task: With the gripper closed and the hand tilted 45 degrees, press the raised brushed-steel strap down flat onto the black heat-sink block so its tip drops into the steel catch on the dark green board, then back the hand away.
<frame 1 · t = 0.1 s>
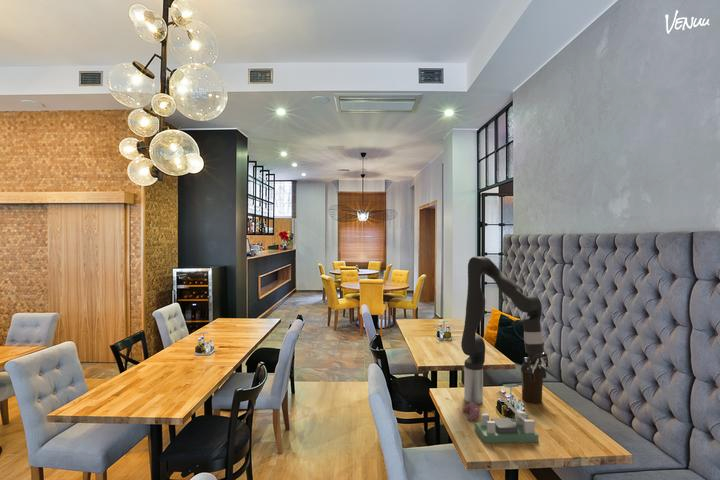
hand: (538, 379, 160), 22 cm above the table, tool pointing down, fingers open, 8 cm apart
pink rounded lump: (471, 416, 174), on the table
clip base: (501, 435, 156), on the table
olive oil: (531, 400, 192), on the table
retention strap: (513, 408, 157), point 12 cm above the table, hinge at 45.0°
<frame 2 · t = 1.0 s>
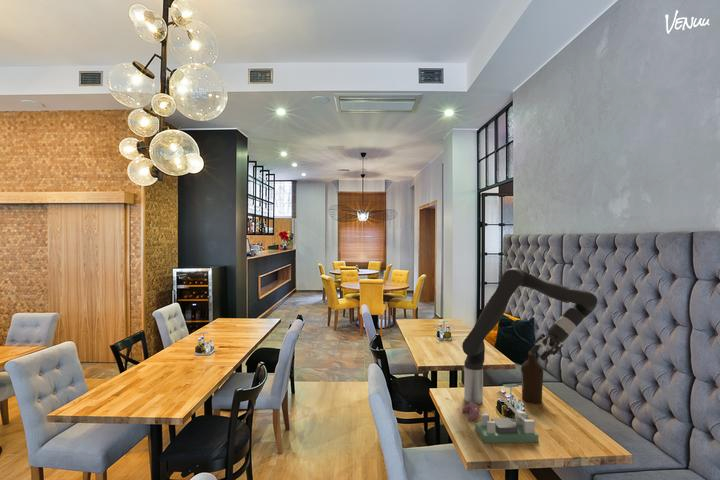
hand: (536, 356, 160), 33 cm above the table, tool tilted 45°, fingers open, 8 cm apart
nothing on the table moved.
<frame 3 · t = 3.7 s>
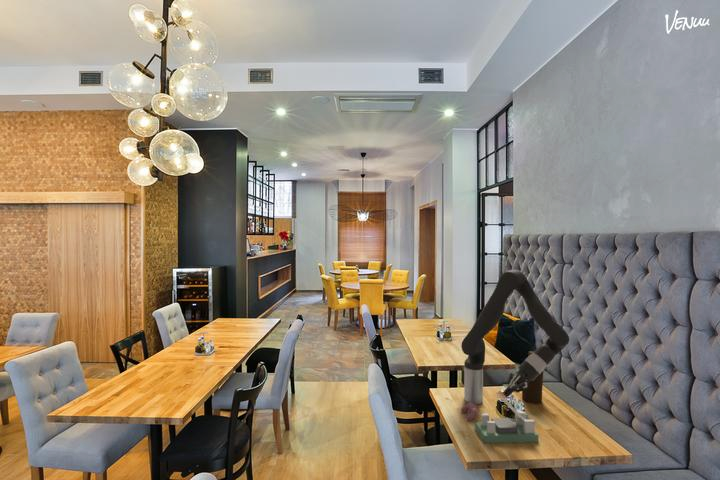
hand: (504, 395, 157), 17 cm above the table, tool tilted 45°, fingers closed
retention strap: (513, 408, 157), point 12 cm above the table, hinge at 45.0°, touching gripper
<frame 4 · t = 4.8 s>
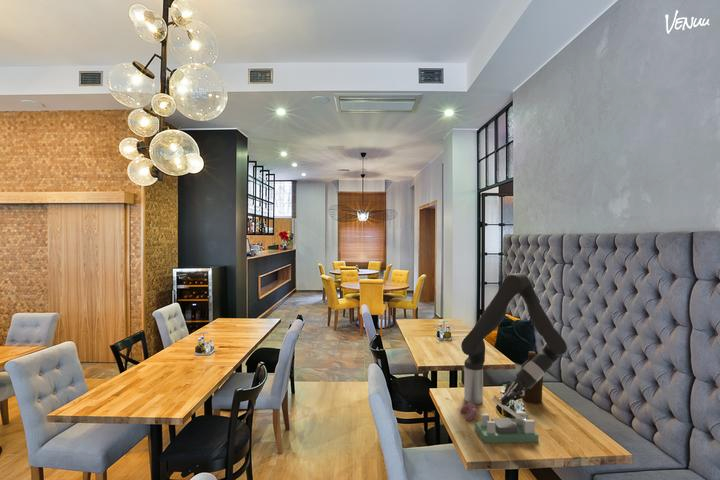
hand: (502, 403, 156), 14 cm above the table, tool tilted 45°, fingers closed
retention strap: (511, 410, 157), point 11 cm above the table, hinge at 34.5°, touching gripper
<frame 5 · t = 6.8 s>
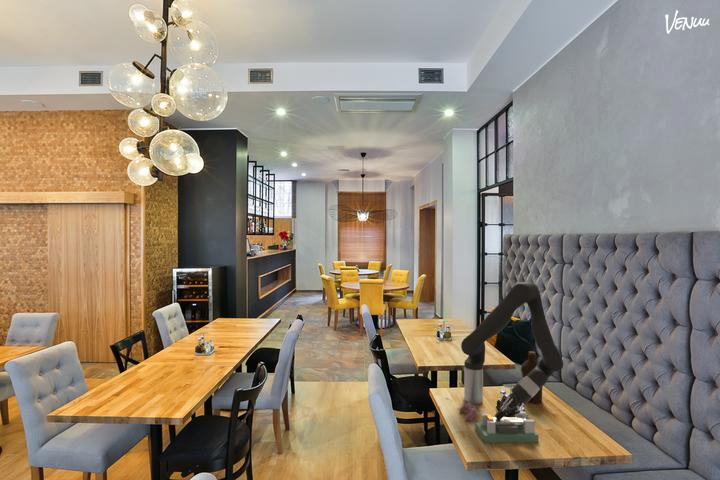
hand: (496, 418, 156), 7 cm above the table, tool tilted 45°, fingers closed
retention strap: (507, 420, 157), point 7 cm above the table, hinge at 1.3°, touching gripper
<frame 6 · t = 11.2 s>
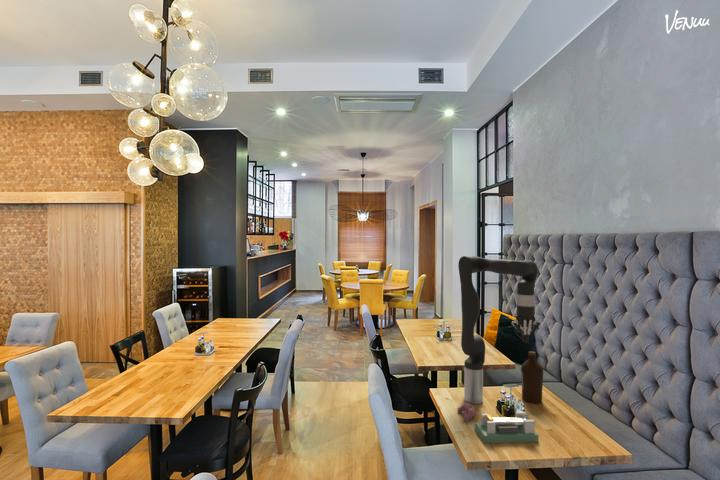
hand: (525, 342, 167), 37 cm above the table, tool pointing down, fingers closed
retention strap: (507, 420, 157), point 6 cm above the table, hinge at 1.1°
at the end: retention strap at +1° (first picture: +45°); pink rounded lump moved 2.7 cm from its start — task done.
